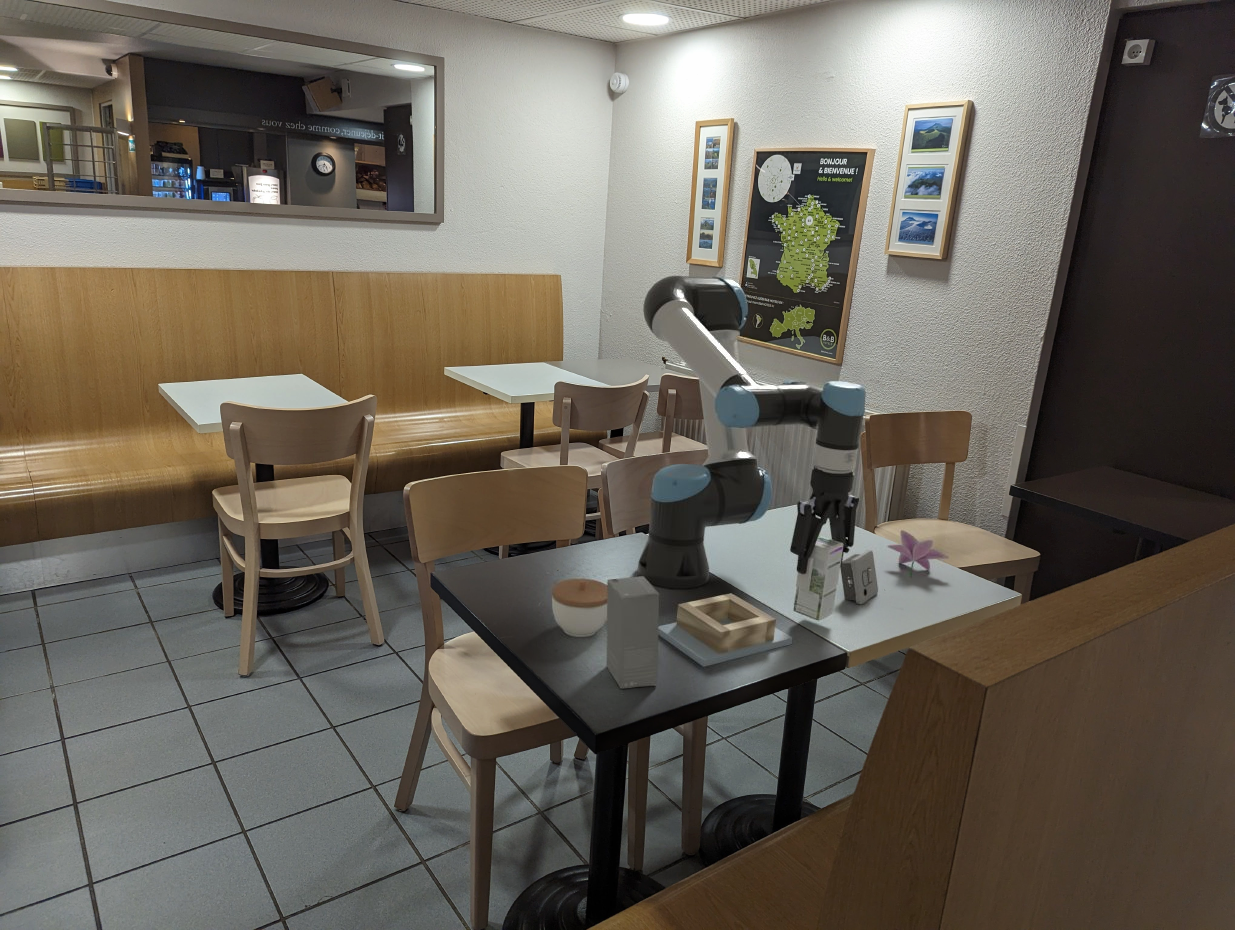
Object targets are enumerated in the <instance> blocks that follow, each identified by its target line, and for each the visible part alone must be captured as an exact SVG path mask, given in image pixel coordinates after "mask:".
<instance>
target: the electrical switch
mask: <svg viewBox="0 0 1235 930" xmlns="http://www.w3.org/2000/svg"><path fill="white" fill-rule="evenodd" d="M875 563H876V562H875V555H874V552H873V550H866V551H864V552H863V553H861V554H859V553H854V554H853V555H851V556H850V557H848V558H846V559H845V560H844V559H843V560H842V565H841V566H840V574H841V575H840V576H841V581H842V583H841V584H842V590H843V595H844V600H847V601H855V602H856V604H857V605H863V604H864V603H866V602H868V601H869V600H871V599H872V598H873V597H874V596H876V595H878V592H879V587H878V579H877V572H876V566H875V565H876V564H875Z"/></svg>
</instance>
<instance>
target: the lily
mask: <svg viewBox="0 0 1235 930" xmlns="http://www.w3.org/2000/svg"><path fill="white" fill-rule="evenodd" d="M900 541H901V544H890V545H887V546H886V547H887V548H889V549H891V550H894V551H895V552H897V553H899V557H898V563H899V564H906V563H911V568H910V572H909V573H910V574H909V578H912V573H913V569H914V563H915V562H916V563H917V564H918V565H920V566H921V567H923V568H924V569H925V570H926V571H931V563H930V560H939V559H940V560H941V559H942V560H943V559H944V560H945V559H946V560H947V559H949V558H950V557H949V556H948V555H947V554H945V553H943V552H941V551H939V550H938V549H935V548H932V547H933V544H934V541H933V540H930V539H929V540H923V541H919V539H917V538H916V537H915V536H914V535H912V534H911V533H909V532H908V531H905V530H902V529H901V530H900Z"/></svg>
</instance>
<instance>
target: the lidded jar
mask: <svg viewBox="0 0 1235 930" xmlns="http://www.w3.org/2000/svg"><path fill="white" fill-rule="evenodd" d="M551 596H552V599H551V600H552V601H551V603H552V606H551V607H552V613H553V616H554V620H555V622H556V623H557V625H558V626H559V627H560V628H561V629H562V631H563V632H564V633H565V634H567V635H568V636H570V637H575V638H587V637H588V638H589V637H592V636H593V635H595V634H597V632H598V631H599V630H600V629H601V628H602V627H604V625H605V624H606V623H607V583H603V582H602V581H599V580H595V579H590V578H570V579H569V578H568V579H563V580H561V581H559V582H556V584H554V585H553V586H552V588H551Z"/></svg>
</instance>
